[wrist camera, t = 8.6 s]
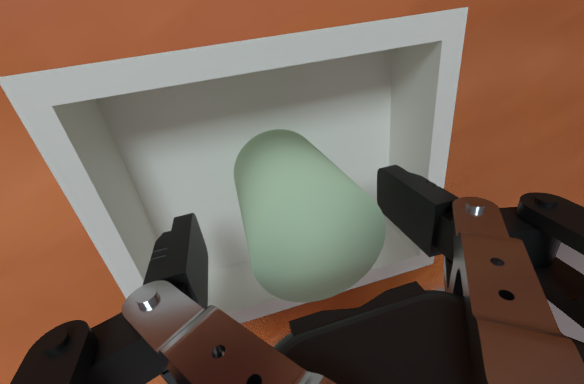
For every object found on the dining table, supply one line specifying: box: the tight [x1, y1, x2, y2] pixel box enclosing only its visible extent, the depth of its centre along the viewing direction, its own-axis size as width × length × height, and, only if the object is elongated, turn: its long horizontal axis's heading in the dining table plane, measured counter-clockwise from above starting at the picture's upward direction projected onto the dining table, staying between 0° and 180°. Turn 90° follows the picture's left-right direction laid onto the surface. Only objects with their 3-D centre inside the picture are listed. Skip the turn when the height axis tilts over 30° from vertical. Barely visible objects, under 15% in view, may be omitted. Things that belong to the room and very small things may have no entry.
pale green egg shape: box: [234, 129, 386, 302], centre depth 13 cm, size 5×5×7 cm
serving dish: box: [0, 7, 468, 323], centre depth 14 cm, size 16×13×4 cm
